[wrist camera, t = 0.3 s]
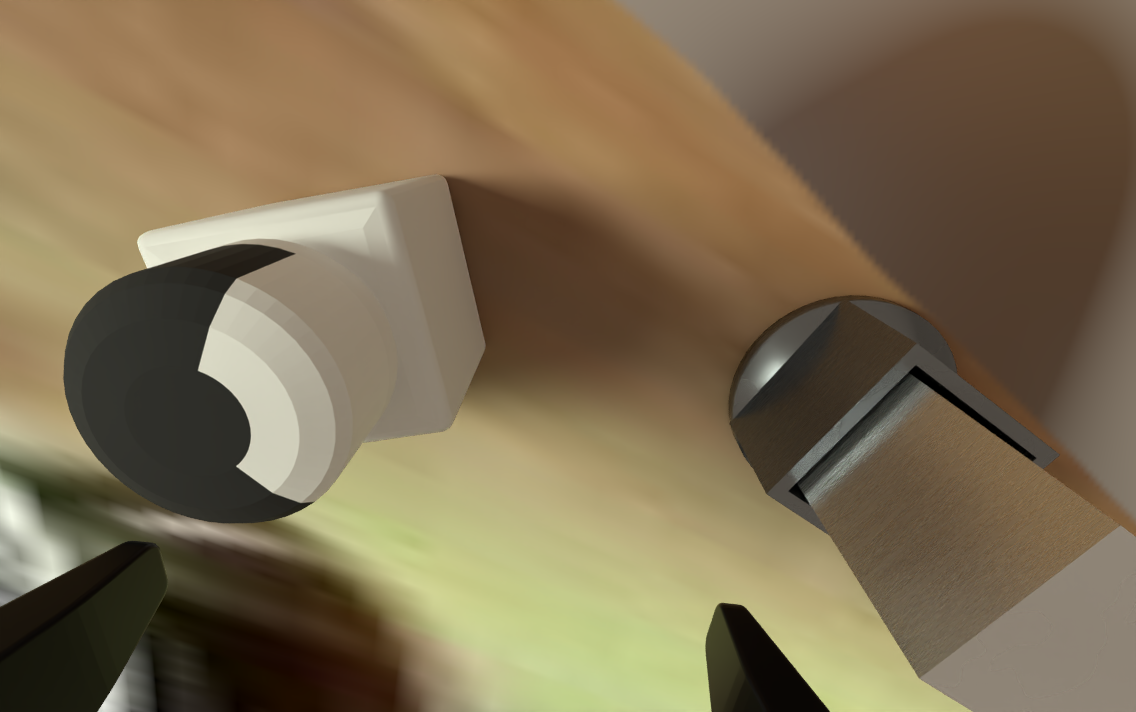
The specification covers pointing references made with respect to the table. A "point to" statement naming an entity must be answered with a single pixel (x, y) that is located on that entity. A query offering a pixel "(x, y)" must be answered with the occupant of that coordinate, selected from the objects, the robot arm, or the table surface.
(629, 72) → the table surface
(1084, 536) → the column
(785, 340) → the base
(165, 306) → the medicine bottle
